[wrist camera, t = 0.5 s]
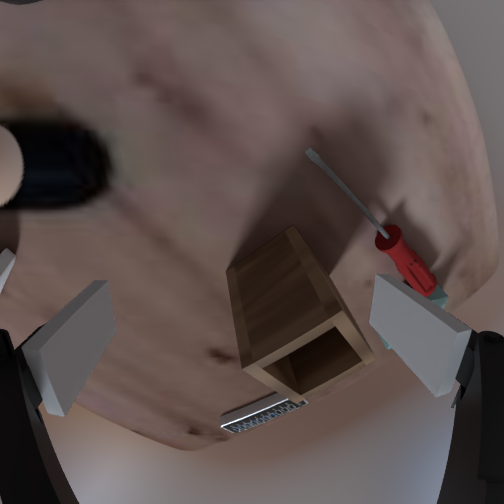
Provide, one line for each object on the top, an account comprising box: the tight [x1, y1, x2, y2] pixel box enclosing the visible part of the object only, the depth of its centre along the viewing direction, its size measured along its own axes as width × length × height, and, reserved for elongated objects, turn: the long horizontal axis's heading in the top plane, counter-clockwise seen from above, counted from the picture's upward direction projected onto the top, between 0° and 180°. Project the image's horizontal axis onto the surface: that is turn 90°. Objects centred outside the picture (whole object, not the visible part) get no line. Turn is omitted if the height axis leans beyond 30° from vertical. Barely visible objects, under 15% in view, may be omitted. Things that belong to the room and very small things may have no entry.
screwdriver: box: [305, 148, 437, 297], centre depth 29 cm, size 4×25×4 cm, turn 47°
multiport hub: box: [220, 393, 308, 433], centre depth 45 cm, size 4×14×2 cm, turn 122°
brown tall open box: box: [226, 225, 376, 404], centre depth 27 cm, size 8×8×12 cm
